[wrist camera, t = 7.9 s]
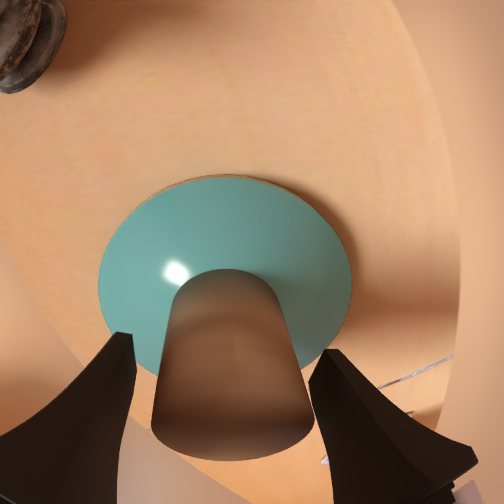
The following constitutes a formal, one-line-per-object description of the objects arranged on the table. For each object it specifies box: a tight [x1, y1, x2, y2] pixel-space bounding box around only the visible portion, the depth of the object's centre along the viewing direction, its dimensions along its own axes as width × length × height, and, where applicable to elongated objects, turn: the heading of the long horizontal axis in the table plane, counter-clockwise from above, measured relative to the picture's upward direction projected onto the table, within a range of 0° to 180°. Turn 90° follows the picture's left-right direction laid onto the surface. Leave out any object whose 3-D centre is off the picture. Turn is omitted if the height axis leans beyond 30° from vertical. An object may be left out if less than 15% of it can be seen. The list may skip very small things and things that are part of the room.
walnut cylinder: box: [151, 269, 315, 461], centre depth 10 cm, size 5×5×6 cm
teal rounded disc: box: [98, 174, 352, 376], centre depth 13 cm, size 12×12×1 cm
